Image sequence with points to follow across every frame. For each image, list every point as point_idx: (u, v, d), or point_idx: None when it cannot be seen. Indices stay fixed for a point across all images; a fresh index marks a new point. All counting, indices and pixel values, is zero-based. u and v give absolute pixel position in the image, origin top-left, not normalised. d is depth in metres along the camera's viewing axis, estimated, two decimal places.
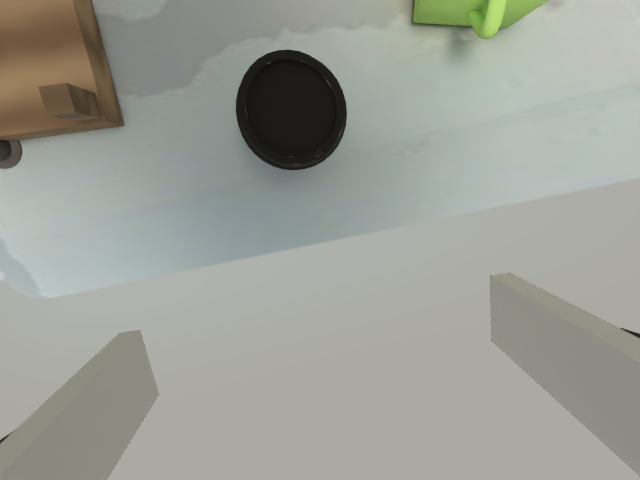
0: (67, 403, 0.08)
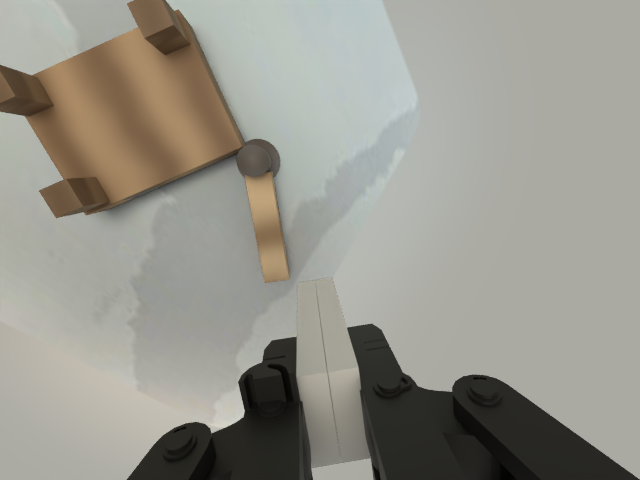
0: (318, 319, 0.11)
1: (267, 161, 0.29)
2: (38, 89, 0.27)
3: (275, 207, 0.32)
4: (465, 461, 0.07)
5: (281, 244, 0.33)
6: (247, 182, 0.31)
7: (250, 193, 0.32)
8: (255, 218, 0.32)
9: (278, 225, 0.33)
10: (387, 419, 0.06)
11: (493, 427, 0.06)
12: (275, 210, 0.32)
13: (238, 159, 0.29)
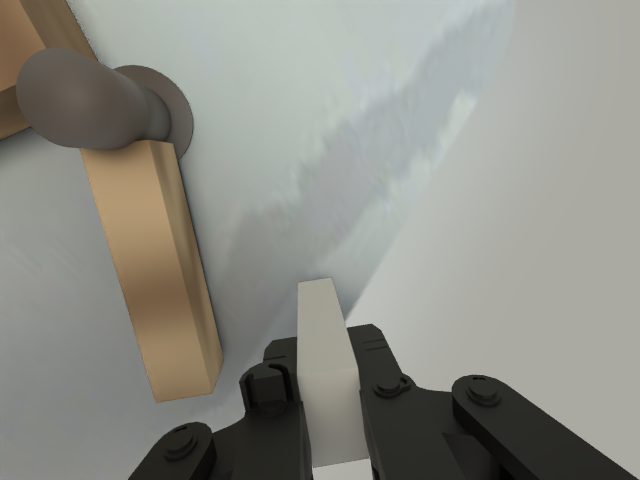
0: (319, 319, 0.11)
1: (114, 101, 0.10)
2: None
3: (168, 230, 0.13)
4: (464, 461, 0.07)
5: (189, 317, 0.14)
6: (89, 166, 0.12)
7: (100, 195, 0.12)
8: (119, 257, 0.13)
9: (179, 273, 0.13)
10: (386, 419, 0.06)
11: (492, 427, 0.06)
12: (169, 237, 0.13)
13: (22, 94, 0.10)
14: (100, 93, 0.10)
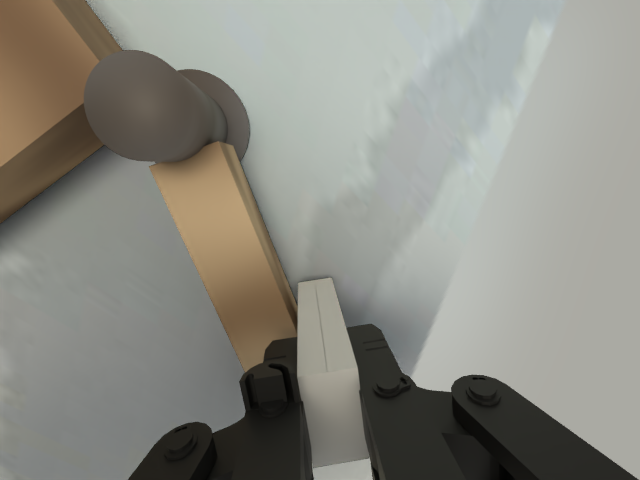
0: (319, 319, 0.11)
1: (188, 99, 0.09)
2: None
3: (254, 235, 0.12)
4: (464, 462, 0.07)
5: (290, 326, 0.13)
6: (162, 183, 0.11)
7: (178, 212, 0.11)
8: (208, 275, 0.12)
9: (272, 280, 0.12)
10: (386, 419, 0.06)
11: (492, 427, 0.06)
12: (255, 243, 0.12)
13: (92, 111, 0.09)
14: (173, 93, 0.09)
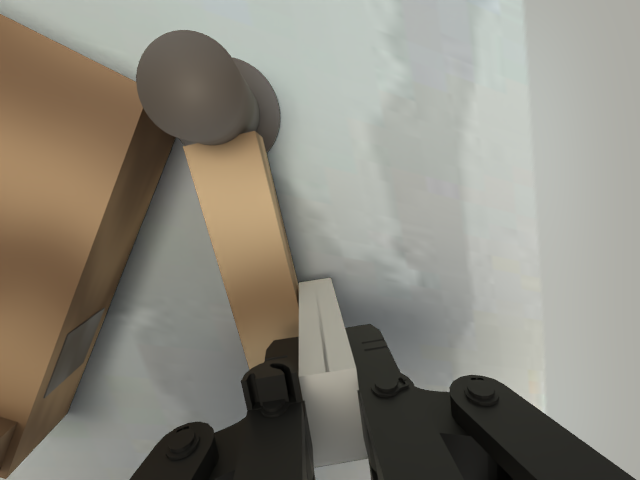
0: (320, 319, 0.11)
1: (239, 86, 0.09)
2: None
3: (276, 227, 0.12)
4: (462, 462, 0.07)
5: (298, 320, 0.13)
6: (193, 164, 0.11)
7: (204, 194, 0.12)
8: (225, 260, 0.12)
9: (287, 273, 0.12)
10: (384, 419, 0.06)
11: (490, 428, 0.06)
12: (276, 235, 0.12)
13: (143, 85, 0.09)
14: (225, 78, 0.09)
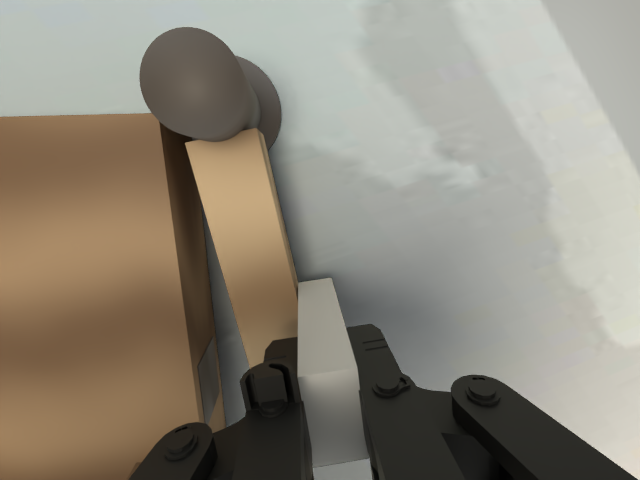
0: (319, 319, 0.11)
1: (241, 83, 0.09)
2: None
3: (276, 224, 0.12)
4: (464, 461, 0.07)
5: (297, 317, 0.13)
6: (195, 161, 0.11)
7: (206, 191, 0.12)
8: (225, 256, 0.12)
9: (287, 270, 0.12)
10: (386, 419, 0.06)
11: (492, 427, 0.06)
12: (277, 232, 0.12)
13: (146, 81, 0.09)
14: (228, 75, 0.09)
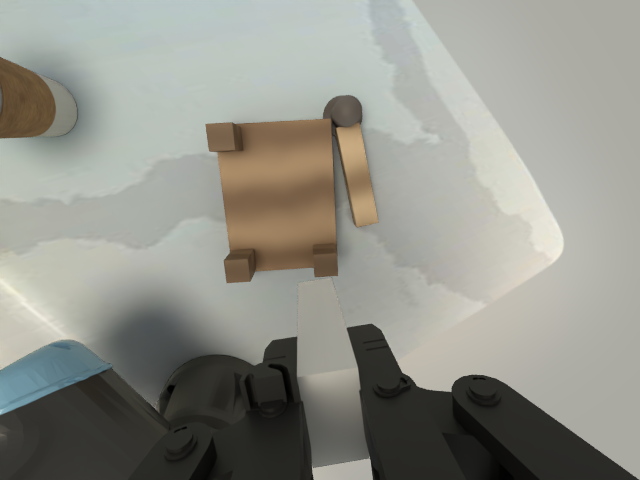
0: (319, 319, 0.11)
1: (361, 110, 0.32)
2: (242, 251, 0.36)
3: (364, 155, 0.35)
4: (464, 462, 0.07)
5: (371, 190, 0.36)
6: (339, 134, 0.35)
7: (342, 144, 0.35)
8: (347, 167, 0.35)
9: (367, 172, 0.36)
10: (386, 419, 0.06)
11: (492, 427, 0.06)
12: (364, 158, 0.35)
13: (335, 110, 0.32)
14: (357, 107, 0.32)
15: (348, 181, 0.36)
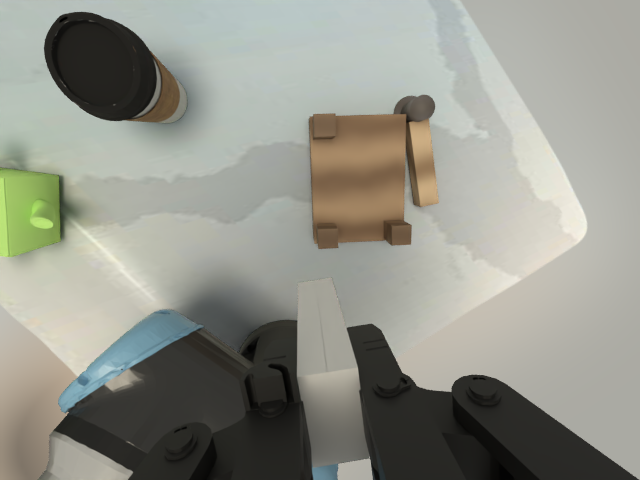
0: (319, 319, 0.11)
1: (434, 107, 0.39)
2: (326, 224, 0.42)
3: (431, 145, 0.42)
4: (464, 461, 0.07)
5: (434, 175, 0.43)
6: (411, 127, 0.41)
7: (413, 135, 0.42)
8: (415, 155, 0.42)
9: (432, 160, 0.43)
10: (386, 419, 0.06)
11: (492, 427, 0.06)
12: (431, 148, 0.42)
13: (413, 106, 0.39)
14: (431, 105, 0.39)
15: (416, 167, 0.43)
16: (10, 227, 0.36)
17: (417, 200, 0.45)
